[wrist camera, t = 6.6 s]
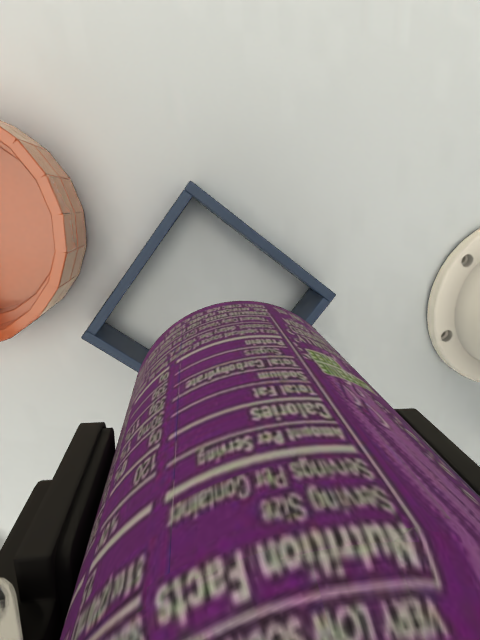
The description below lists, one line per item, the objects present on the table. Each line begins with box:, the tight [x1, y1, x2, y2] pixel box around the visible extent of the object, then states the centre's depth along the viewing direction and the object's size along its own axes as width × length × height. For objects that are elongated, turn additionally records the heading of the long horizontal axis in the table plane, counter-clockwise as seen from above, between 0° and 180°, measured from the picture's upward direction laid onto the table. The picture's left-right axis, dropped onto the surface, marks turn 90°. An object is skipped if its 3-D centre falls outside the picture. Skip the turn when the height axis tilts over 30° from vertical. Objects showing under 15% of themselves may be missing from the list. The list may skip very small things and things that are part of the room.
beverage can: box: [60, 301, 480, 640], centre depth 9 cm, size 7×7×12 cm
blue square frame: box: [82, 181, 336, 372], centre depth 26 cm, size 11×11×3 cm
